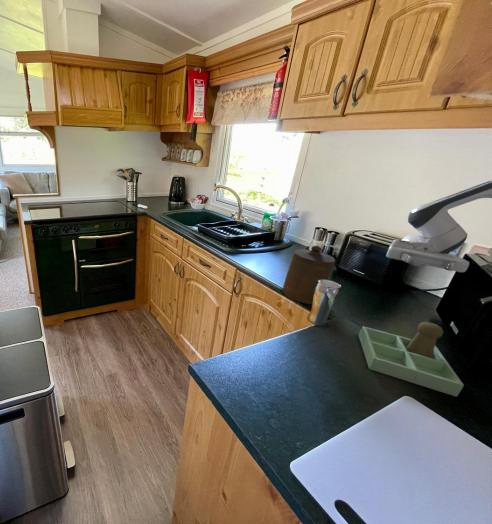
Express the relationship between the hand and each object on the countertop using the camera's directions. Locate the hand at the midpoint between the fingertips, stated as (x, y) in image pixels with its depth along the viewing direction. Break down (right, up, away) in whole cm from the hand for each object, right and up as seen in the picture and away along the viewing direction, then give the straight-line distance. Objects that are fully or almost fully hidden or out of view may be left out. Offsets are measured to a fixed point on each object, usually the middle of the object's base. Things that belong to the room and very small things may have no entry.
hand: (430, 264), depth 92 cm
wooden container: (-25, -14, +29) cm, 41 cm away
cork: (-10, -28, -6) cm, 30 cm away
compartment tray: (-16, -29, -7) cm, 34 cm away
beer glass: (-30, -21, +11) cm, 38 cm away
